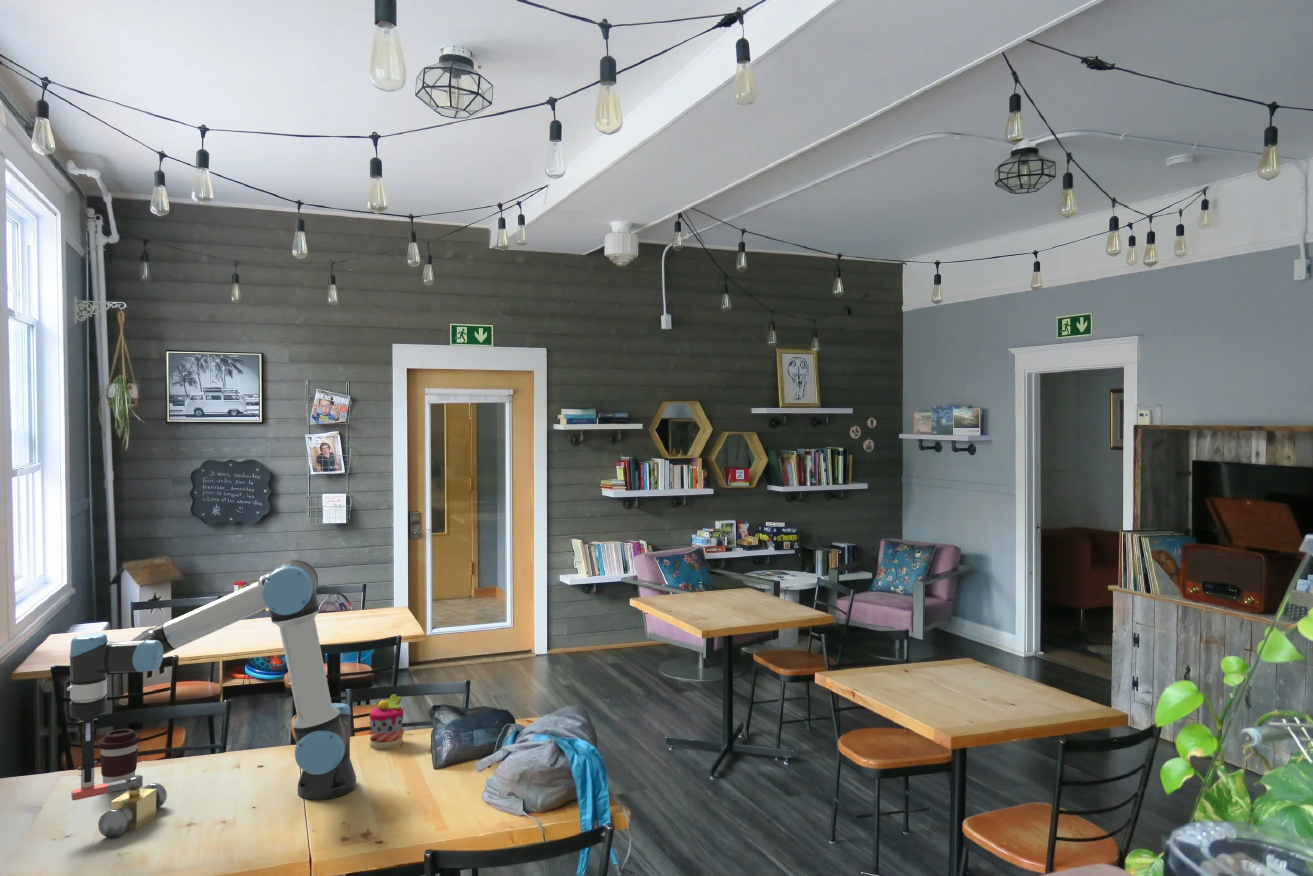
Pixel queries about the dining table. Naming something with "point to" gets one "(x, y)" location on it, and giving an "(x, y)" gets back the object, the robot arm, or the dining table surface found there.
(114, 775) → the coffee cup
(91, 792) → the lever
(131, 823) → the valve
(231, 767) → the dining table surface
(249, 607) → the robot arm
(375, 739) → the cake
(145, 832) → the dining table surface
